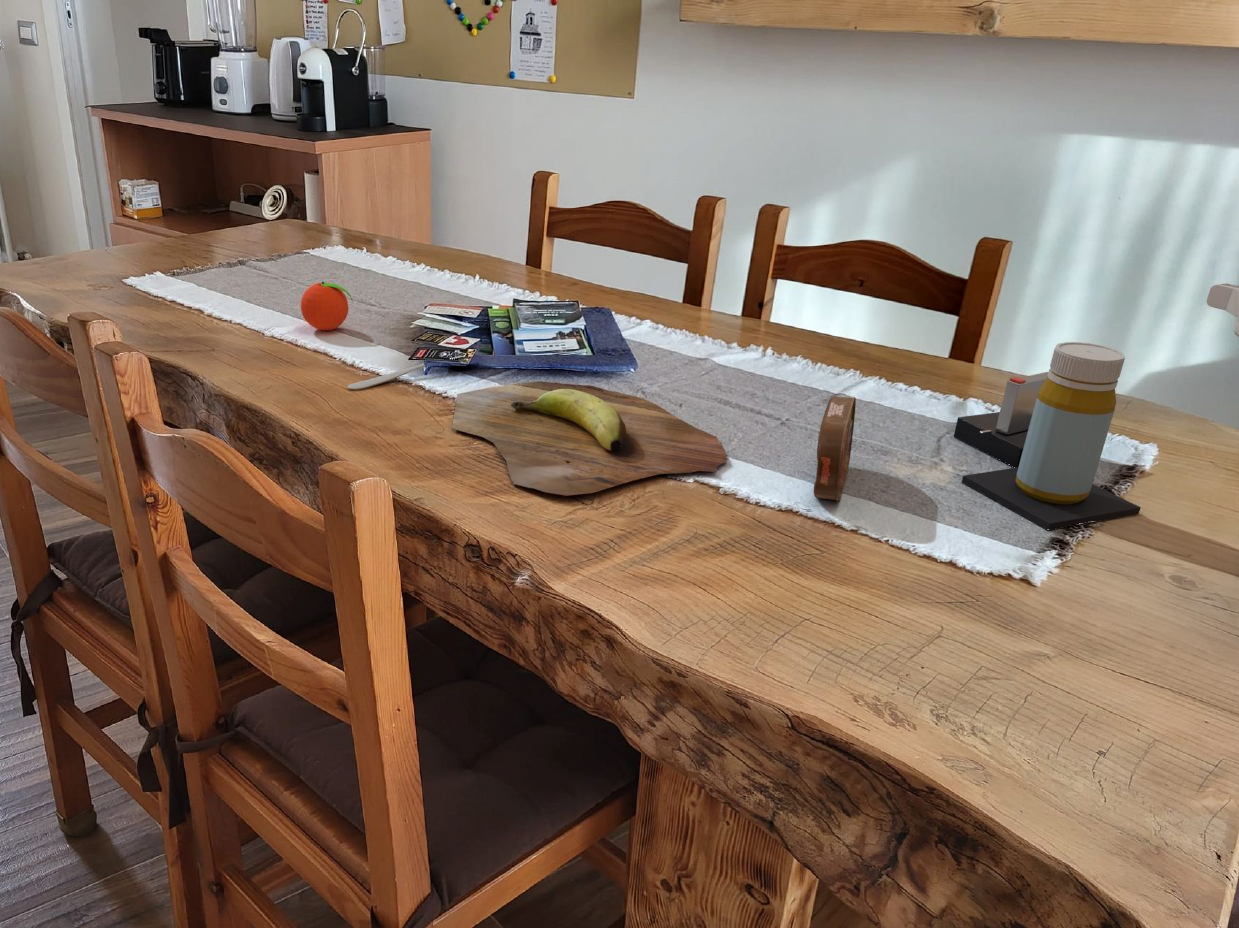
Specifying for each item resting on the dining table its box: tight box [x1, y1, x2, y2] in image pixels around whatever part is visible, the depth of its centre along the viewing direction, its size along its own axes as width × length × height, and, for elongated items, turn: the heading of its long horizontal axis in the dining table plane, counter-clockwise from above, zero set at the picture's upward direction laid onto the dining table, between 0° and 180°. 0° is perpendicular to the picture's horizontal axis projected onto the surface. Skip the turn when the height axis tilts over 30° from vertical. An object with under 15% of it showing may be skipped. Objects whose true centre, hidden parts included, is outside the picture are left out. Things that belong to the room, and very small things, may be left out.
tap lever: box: [995, 371, 1049, 435], centre depth 117 cm, size 9×2×6 cm, turn 121°
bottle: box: [1016, 341, 1126, 504], centre depth 103 cm, size 7×7×15 cm
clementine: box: [300, 281, 354, 332], centre depth 152 cm, size 8×7×7 cm
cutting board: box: [452, 380, 729, 497], centre depth 119 cm, size 35×27×4 cm
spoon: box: [346, 363, 426, 391], centre depth 136 cm, size 4×21×2 cm, turn 128°
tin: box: [813, 396, 857, 502], centre depth 107 cm, size 15×3×8 cm, turn 160°
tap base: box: [953, 406, 1028, 468], centre depth 119 cm, size 13×13×3 cm
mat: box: [961, 467, 1142, 531], centre depth 107 cm, size 12×12×1 cm
